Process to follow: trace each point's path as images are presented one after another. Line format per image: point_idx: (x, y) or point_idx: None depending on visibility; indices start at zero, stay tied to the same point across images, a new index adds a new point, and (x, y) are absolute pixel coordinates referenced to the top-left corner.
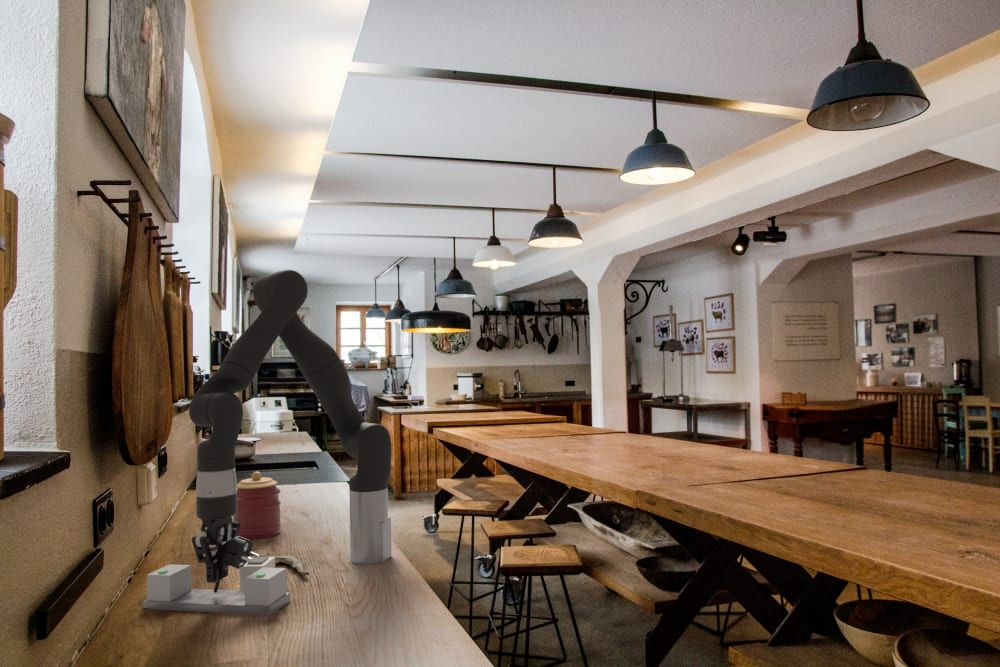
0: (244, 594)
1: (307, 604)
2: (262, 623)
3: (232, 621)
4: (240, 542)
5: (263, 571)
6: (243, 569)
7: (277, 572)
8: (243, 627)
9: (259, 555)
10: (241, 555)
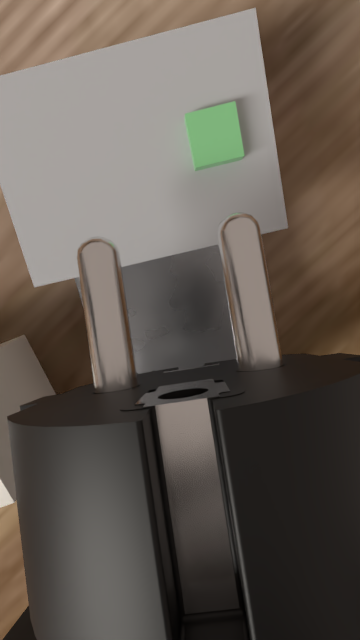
0: (140, 335)
1: (32, 45)
2: (294, 86)
3: (308, 234)
4: (318, 463)
5: (110, 209)
6: (13, 474)
7: (86, 72)
8: (353, 137)
9: (85, 242)
10: (275, 342)
